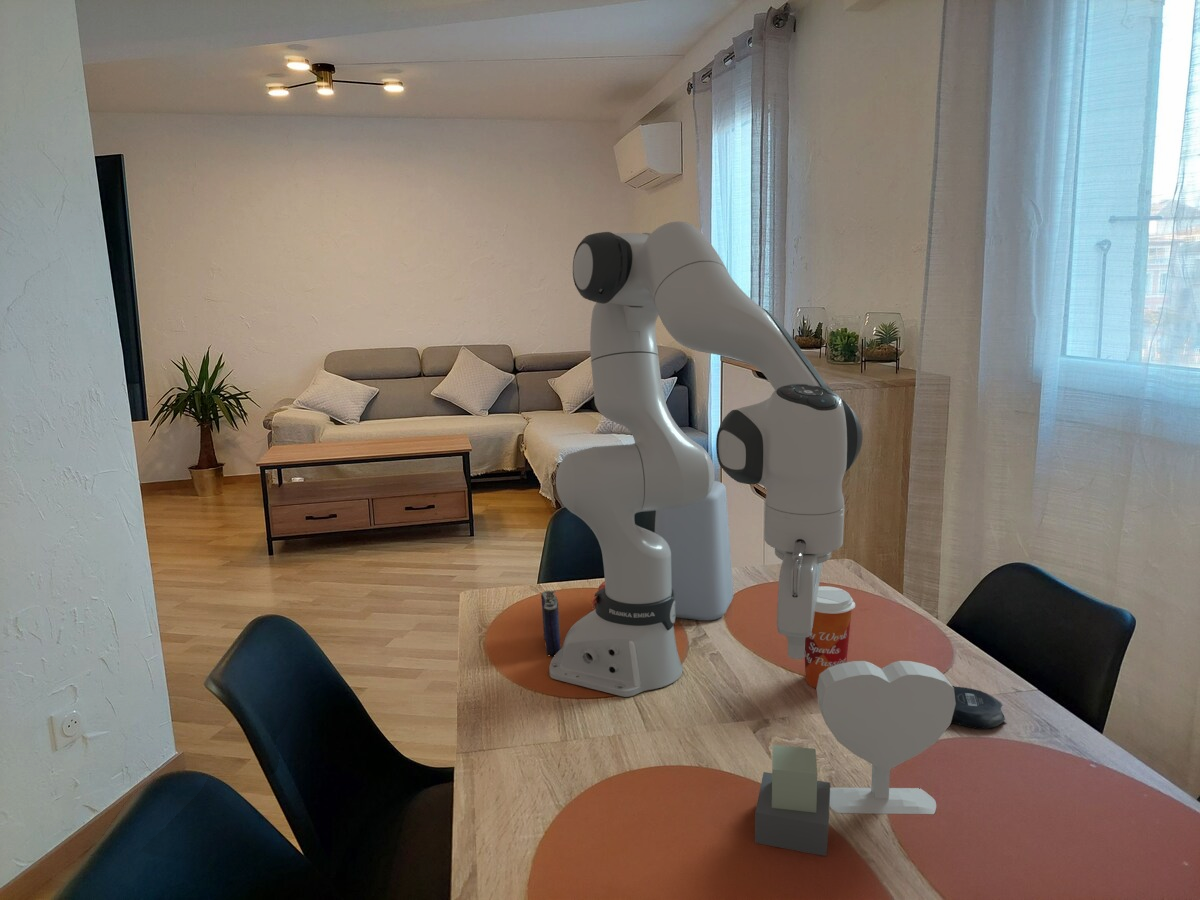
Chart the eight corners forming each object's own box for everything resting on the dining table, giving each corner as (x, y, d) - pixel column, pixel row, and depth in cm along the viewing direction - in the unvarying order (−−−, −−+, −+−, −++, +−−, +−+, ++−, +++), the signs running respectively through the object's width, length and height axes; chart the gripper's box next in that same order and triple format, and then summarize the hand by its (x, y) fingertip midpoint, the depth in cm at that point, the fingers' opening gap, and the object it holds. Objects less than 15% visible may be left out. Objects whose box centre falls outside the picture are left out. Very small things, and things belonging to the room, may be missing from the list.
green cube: (771, 807, 92) (772, 769, 91) (772, 781, 96) (772, 744, 95) (816, 812, 90) (817, 773, 89) (814, 786, 95) (815, 748, 94)
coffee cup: (795, 689, 126) (796, 601, 123) (802, 666, 133) (804, 582, 130) (849, 698, 123) (853, 607, 120) (854, 673, 130) (857, 588, 127)
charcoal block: (754, 842, 92) (755, 812, 91) (763, 800, 99) (763, 771, 98) (826, 856, 89) (827, 825, 88) (829, 811, 97) (830, 782, 96)
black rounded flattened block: (898, 733, 116) (1011, 733, 111) (894, 696, 116) (1007, 695, 111) (895, 709, 125) (999, 708, 120) (891, 674, 124) (995, 672, 120)
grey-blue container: (737, 596, 164) (737, 464, 158) (721, 625, 150) (721, 482, 144) (666, 588, 169) (665, 461, 163) (645, 616, 155) (642, 478, 150)
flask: (542, 635, 148) (540, 581, 146) (558, 634, 148) (556, 580, 146) (546, 658, 139) (543, 601, 137) (562, 656, 140) (560, 599, 137)
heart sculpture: (936, 788, 100) (944, 657, 97) (950, 814, 96) (960, 677, 92) (812, 787, 101) (815, 658, 98) (820, 812, 96) (824, 677, 93)
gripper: (827, 562, 80) (822, 685, 83) (835, 504, 99) (830, 606, 102) (764, 556, 82) (761, 676, 85) (784, 500, 101) (781, 600, 104)
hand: (799, 637), depth 94 cm, fingers open, 8 cm apart
